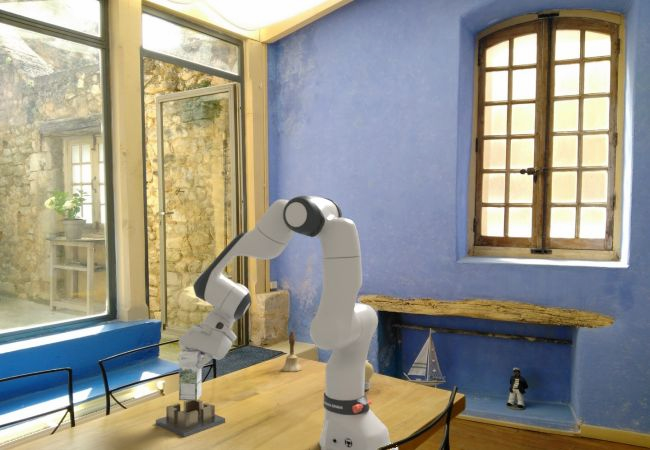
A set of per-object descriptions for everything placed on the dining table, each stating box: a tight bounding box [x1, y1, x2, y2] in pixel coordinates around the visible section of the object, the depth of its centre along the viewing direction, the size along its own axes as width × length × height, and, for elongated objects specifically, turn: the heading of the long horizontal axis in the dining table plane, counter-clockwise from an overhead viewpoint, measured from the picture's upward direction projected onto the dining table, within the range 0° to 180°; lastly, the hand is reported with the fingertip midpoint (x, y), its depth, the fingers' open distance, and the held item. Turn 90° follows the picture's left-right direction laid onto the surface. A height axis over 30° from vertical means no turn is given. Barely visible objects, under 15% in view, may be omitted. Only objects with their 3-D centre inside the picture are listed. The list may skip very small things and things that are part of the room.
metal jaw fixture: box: [155, 399, 226, 438], centre depth 164 cm, size 15×15×5 cm
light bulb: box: [364, 361, 375, 391], centre depth 197 cm, size 6×6×10 cm
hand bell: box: [281, 330, 303, 373], centre depth 222 cm, size 8×8×16 cm
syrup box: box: [178, 350, 203, 401], centre depth 164 cm, size 6×6×14 cm
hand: (189, 364), depth 163 cm, fingers closed on syrup box, 8 cm apart
